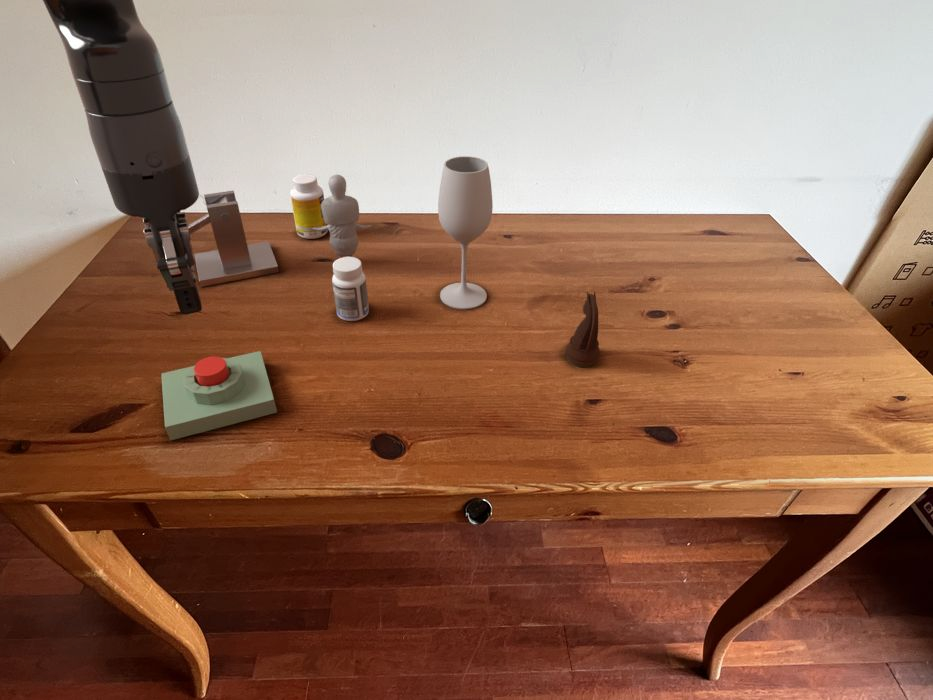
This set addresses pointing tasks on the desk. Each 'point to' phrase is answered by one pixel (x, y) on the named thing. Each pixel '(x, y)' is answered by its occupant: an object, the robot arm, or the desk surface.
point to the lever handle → (204, 219)
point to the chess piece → (585, 337)
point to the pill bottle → (350, 289)
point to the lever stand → (231, 246)
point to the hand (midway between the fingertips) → (191, 309)
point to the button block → (216, 397)
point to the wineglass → (465, 219)
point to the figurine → (341, 218)
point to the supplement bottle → (307, 206)
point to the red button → (211, 371)
